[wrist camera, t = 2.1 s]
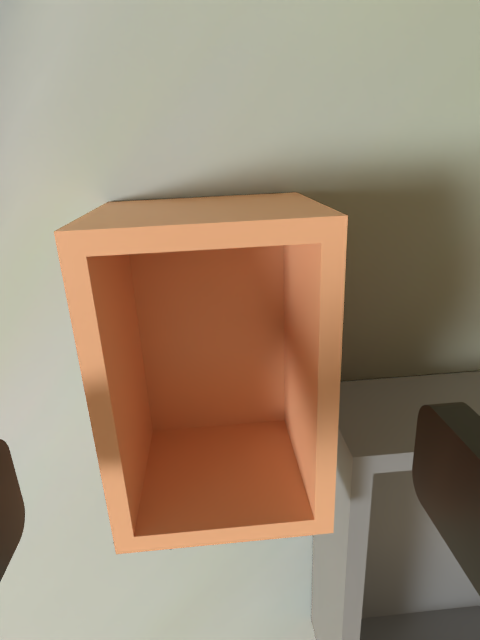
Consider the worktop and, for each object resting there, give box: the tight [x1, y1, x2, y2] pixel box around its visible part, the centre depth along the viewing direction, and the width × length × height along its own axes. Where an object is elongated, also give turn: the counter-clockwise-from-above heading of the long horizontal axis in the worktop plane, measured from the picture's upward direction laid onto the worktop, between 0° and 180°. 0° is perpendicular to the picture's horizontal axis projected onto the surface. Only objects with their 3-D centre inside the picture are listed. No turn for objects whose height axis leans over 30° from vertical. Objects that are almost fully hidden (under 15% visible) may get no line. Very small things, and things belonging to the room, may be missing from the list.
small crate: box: [54, 192, 348, 554], centre depth 12 cm, size 8×6×5 cm
